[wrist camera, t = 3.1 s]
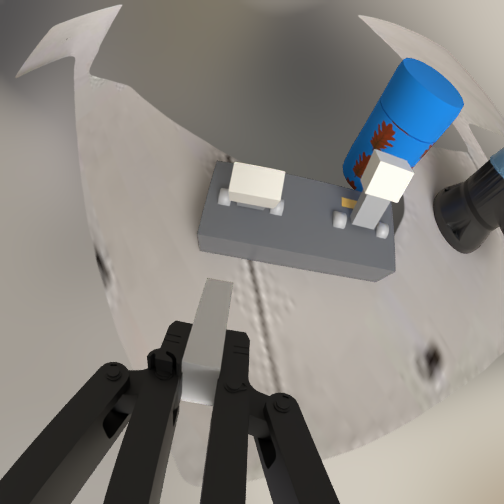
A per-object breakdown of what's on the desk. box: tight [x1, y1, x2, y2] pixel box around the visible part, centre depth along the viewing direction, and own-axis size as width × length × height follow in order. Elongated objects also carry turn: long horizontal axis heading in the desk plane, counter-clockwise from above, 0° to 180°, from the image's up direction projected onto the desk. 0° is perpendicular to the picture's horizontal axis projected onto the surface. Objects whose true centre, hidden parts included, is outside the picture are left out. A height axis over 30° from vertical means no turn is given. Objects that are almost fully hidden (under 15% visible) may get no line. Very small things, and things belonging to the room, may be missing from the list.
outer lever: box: [228, 162, 285, 210], centre depth 32 cm, size 5×3×11 cm, turn 81°
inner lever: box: [350, 149, 414, 230], centre depth 34 cm, size 5×3×11 cm, turn 81°
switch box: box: [197, 161, 395, 282], centre depth 41 cm, size 28×12×7 cm, turn 81°
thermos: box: [343, 58, 464, 192], centre depth 38 cm, size 11×11×25 cm
